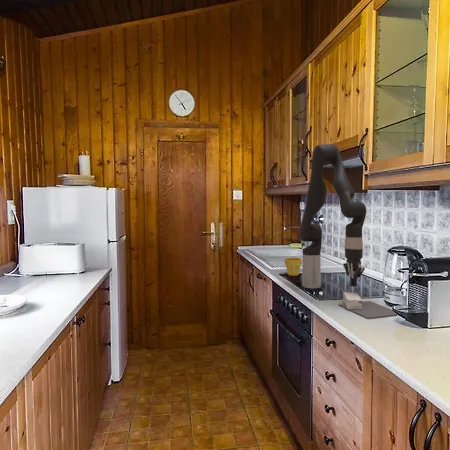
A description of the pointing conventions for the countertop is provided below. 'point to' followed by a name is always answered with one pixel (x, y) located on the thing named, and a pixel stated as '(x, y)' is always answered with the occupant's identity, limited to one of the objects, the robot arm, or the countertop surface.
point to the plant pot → (293, 265)
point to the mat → (371, 310)
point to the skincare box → (352, 300)
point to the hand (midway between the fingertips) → (353, 286)
